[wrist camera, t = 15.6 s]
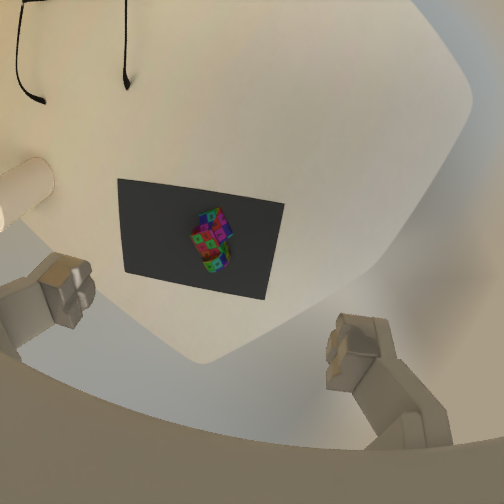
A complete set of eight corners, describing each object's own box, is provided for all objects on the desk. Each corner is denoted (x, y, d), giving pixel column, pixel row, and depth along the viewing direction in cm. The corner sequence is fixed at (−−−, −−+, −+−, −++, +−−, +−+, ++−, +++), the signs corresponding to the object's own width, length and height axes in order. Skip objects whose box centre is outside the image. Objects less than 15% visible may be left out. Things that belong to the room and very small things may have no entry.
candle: (31, 147, 33) (-49, 192, 21) (60, 175, 35) (-18, 229, 22) (19, 179, 36) (-51, 228, 23) (46, 206, 38) (-22, 263, 25)
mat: (284, 203, 34) (284, 204, 34) (264, 299, 42) (264, 300, 42) (117, 178, 35) (117, 178, 35) (125, 271, 42) (125, 271, 42)
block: (241, 249, 38) (236, 265, 35) (211, 258, 39) (205, 274, 36) (220, 206, 35) (213, 220, 32) (189, 217, 36) (180, 231, 34)
